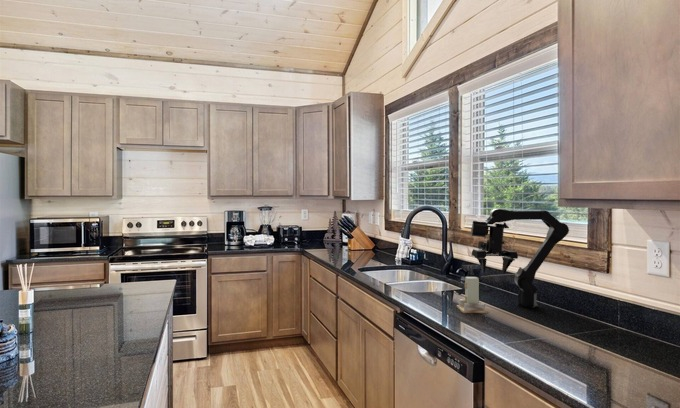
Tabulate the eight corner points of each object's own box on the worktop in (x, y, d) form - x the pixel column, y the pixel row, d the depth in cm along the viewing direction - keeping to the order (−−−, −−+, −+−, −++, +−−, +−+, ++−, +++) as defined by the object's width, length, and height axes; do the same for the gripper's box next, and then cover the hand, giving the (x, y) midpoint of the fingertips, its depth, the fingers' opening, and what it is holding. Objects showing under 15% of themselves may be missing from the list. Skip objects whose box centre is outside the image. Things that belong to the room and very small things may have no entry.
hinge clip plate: (480, 306, 182) (480, 299, 182) (487, 312, 173) (488, 304, 173) (456, 306, 182) (456, 299, 182) (462, 312, 173) (463, 304, 173)
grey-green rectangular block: (475, 306, 179) (476, 276, 179) (478, 309, 176) (478, 278, 175) (463, 306, 179) (463, 276, 179) (465, 308, 176) (466, 278, 175)
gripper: (506, 235, 196) (503, 270, 197) (467, 234, 193) (464, 269, 194) (520, 239, 185) (517, 275, 186) (478, 238, 182) (476, 275, 183)
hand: (493, 273), depth 188 cm, fingers open, 9 cm apart
